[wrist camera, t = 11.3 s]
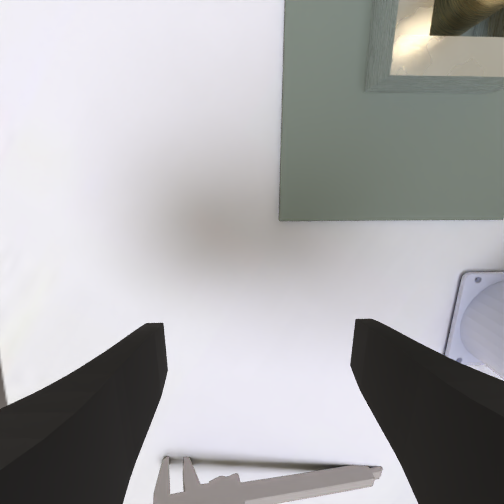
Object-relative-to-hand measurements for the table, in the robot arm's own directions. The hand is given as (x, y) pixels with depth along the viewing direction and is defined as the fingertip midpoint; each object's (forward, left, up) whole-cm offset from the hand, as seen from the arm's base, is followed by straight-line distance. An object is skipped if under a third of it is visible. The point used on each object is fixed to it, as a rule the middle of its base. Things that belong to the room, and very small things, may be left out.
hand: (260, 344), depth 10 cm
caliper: (-2, +20, -11) cm, 23 cm away
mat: (-10, -12, -10) cm, 19 cm away
